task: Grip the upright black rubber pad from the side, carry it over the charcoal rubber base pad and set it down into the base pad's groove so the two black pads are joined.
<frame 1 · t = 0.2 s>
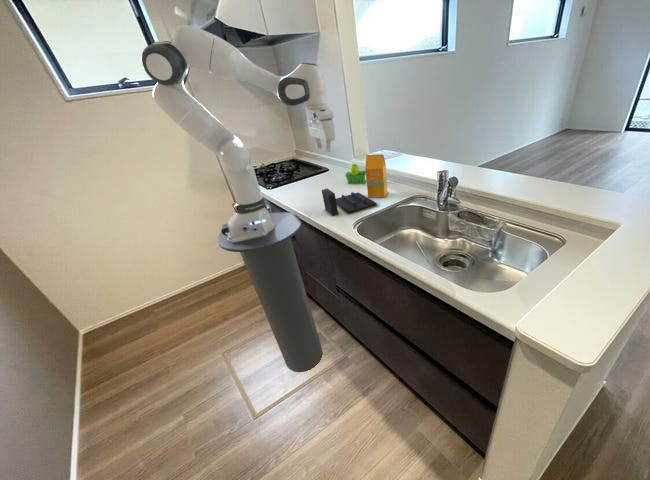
hand: (324, 150, 125), 28 cm above the countertop, tool pointing down, fingers open, 8 cm apart
orange juice: (378, 195, 155), on the countertop
fruit basket: (356, 182, 175), on the countertop
base pad: (354, 203, 148), on the countertop
upright pad: (331, 212, 142), on the countertop
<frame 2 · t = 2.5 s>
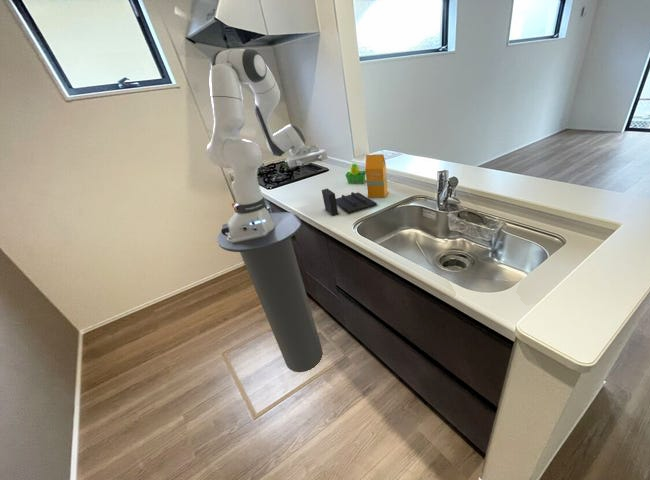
hand: (311, 161, 142), 20 cm above the countertop, tool horizontal, fingers open, 8 cm apart
nothing on the countertop moved.
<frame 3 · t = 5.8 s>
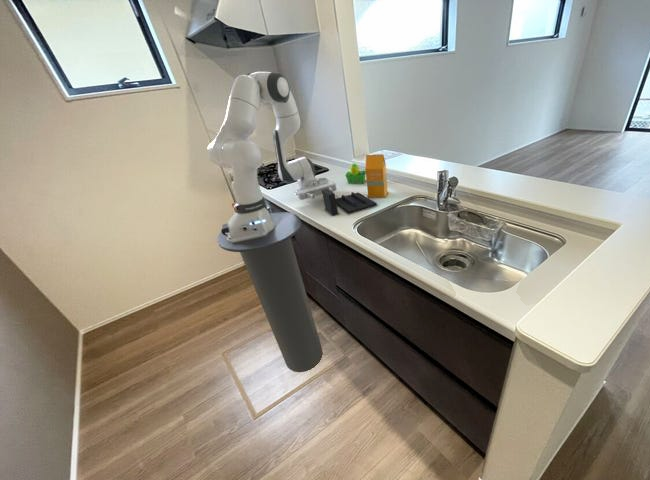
hand: (322, 194, 146), 6 cm above the countertop, tool horizontal, fingers open, 8 cm apart
nothing on the countertop moved.
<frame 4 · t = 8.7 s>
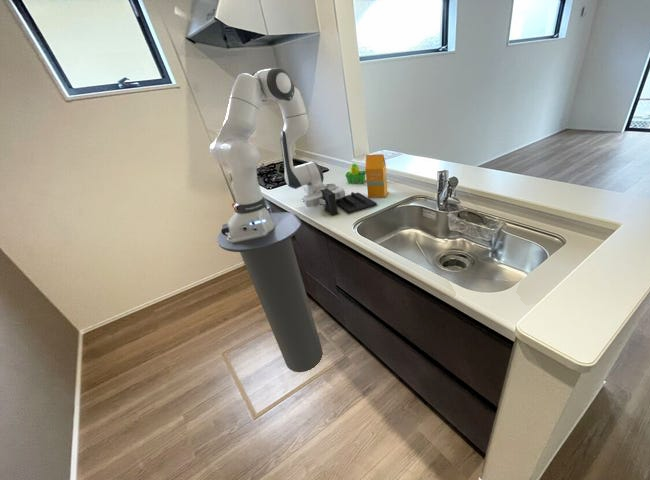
hand: (330, 201, 138), 6 cm above the countertop, tool horizontal, fingers closed on upright pad, 3 cm apart
upright pad: (331, 212, 142), on the countertop, touching gripper
everything else where it was.
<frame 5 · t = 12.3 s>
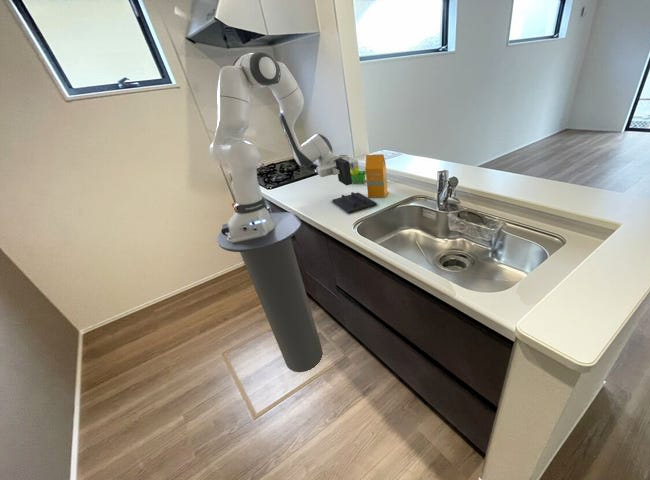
hand: (344, 170, 136), 17 cm above the countertop, tool horizontal, fingers closed on upright pad, 3 cm apart
upright pad: (345, 182, 140), point 11 cm above the countertop, touching gripper
everything else where it was.
when the fingers open (7 cm above the countertop, at t = 15.7 s): upright pad stays where it is, resting on base pad.
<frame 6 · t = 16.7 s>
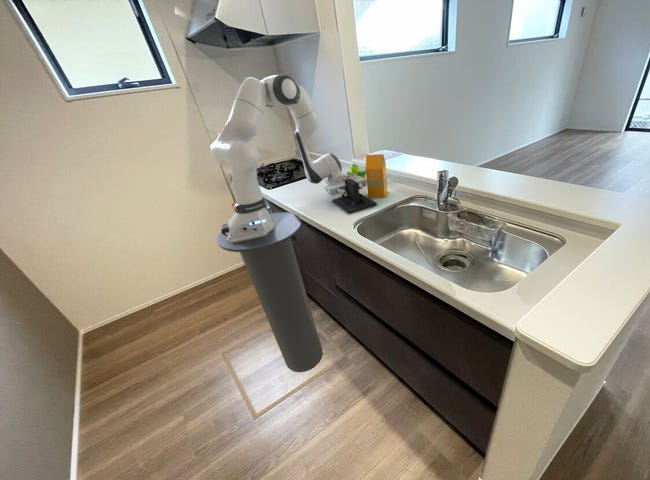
hand: (352, 190, 143), 7 cm above the countertop, tool horizontal, fingers open, 8 cm apart
upright pad: (353, 201, 147), point 1 cm above the countertop, touching base pad
everything else where it was.
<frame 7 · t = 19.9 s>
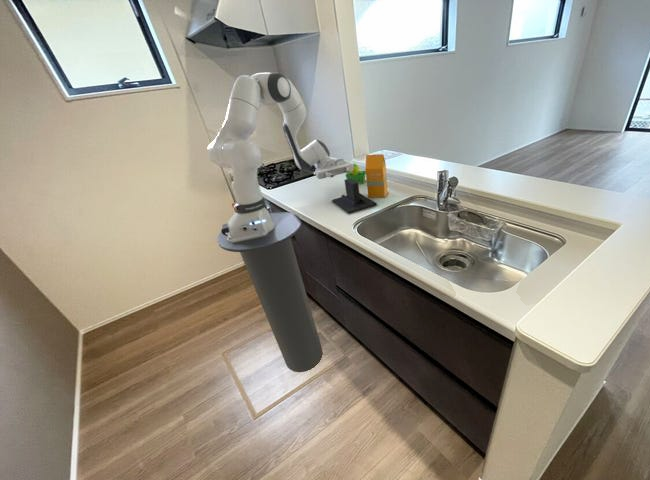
hand: (340, 173, 150), 12 cm above the countertop, tool horizontal, fingers open, 8 cm apart
nothing on the countertop moved.
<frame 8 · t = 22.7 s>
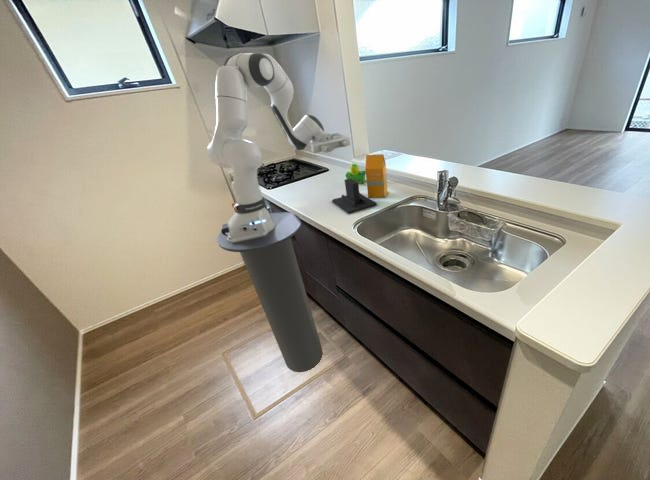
hand: (336, 146, 143), 25 cm above the countertop, tool horizontal, fingers open, 8 cm apart
nothing on the countertop moved.
at the end: upright pad inside the target area on the base pad (0.1 cm from its centre), point 1.2 cm above the base pad's base; upright pad tilted 0°; the gripper is holding nothing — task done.
